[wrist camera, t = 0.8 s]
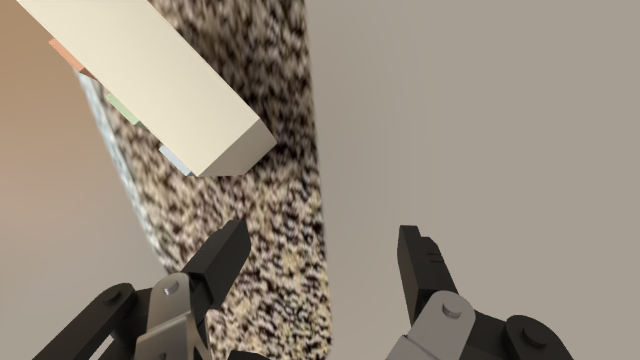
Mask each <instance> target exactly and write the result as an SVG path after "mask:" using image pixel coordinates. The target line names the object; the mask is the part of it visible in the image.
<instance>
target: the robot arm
mask: <svg viewBox="0 0 640 360" xmlns="http://www.w3.org/2000/svg"><path fill="white" fill-rule="evenodd" d="M250 251H251V240H250V237H249V233H248V229H247V225H246V222H245V221H244V220H229V221H228V222H227V223H226V224H225V226H224V227H223V228H222V229H219V230H217V231H216V232H215V233H213V234H212V235H210V237H209V238H208V239H207V240H206V242H205V244H203V245H202V246H201V248H200V250H198V251H197V252H196V254H195V255H194V256H193V257H192V258H191V260H190V261H189V262H188V263H187V264H186V266H185V267H184V268H183V269H182V270H181V272H180V273H174V274H171V275H168V276H166V277H165V278H163V279H162V280H160V281H159V282H158V283H157V284H156V285H155V286H154V287H153V288H148V289H143V290H138V291H135V289H134V288H133V287H132V285H131V284H129V283H121V284H118V285H115V286H112V287H110V288H108V289H107V290H105V291H103V292H102V293H101V294H99V296H97V297H96V298H95V299H94V300H93V301H92V302H91V303H90V304H89V305H88V306H87V307H86V308H85V309H84V310H83V311H82V312H81V313H80V314H79V315H78V316H77V317H76V318H75V319H73V320H72V321H71V322H70V323H69V324H68V325H67V326H66V327H65V328H64V329H63V330H62V331H61V332H60V333H59V334H58V335H57V336H56V337H55V338H54V339H53V340H52V341H51V342H50V343H49V344H48V345H47V346H46V347H45V348H44V349H43V350H42V351H41V352H39V353H38V354H37V355H36V356H35V357H34V358H33V359H32V360H89V358H90V357H91V356H92V355H93V353H94V352H95V351H96V350H97V349H98V348H99V346H100V345H101V344H102V343H103V342H104V340H105V339H106V338H107V337H108V336H109V335H111V336H112V338H113V339H114V340H113V342H112V343H111V344H110V345H109V347H108V348H107V349H106V350H105V352H104V353H103V354H102V355H101V357H100V358H99V359H98V360H213V359H212V355H211V347H210V339H209V332H208V324H207V317H206V313H207V311H208V310H209V309H215V310H219V308H220V306H221V305H222V303H223V301H224V299H225V297H226V296H227V294H228V292H229V290H230V288H231V287H232V285H233V283H234V281H235V279H236V277H237V276H238V274H239V272H240V270H241V268H242V267H243V265H244V263H245V261H246V259H247V257H248V256H249V254H250ZM397 257H398V265H399V269H400V274H401V279H402V284H403V289H404V294H405V299H406V304H407V308H408V313H409V318H410V323H411V329H410V331H409V332H408V334H407V335H406V336H405V335H402V336H401V337H400V338H399V340H398V341H397V342H396V344H395V346H394V347H393V349H392V350H391V352H390V353H389V355H388V356H387V358H386V359H385V360H574V359H573V358H572V356H571V355H570V353H569V352H568V350H567V349H566V347H565V346H564V344H563V343H562V341H561V340H560V339H559V337H558V336H557V335H556V334H555V333H554V332H553V331H552V330H551V329H550V328H548V327H547V326H546V325H544V324H543V323H541V322H539V321H537V320H535V319H533V318H530V317H527V316H523V315H514V316H511V317H509V318H508V319H507V321H506V322H505V321H502V320H499V319H496V318H493V317H490V316H488V315H484V314H482V313H480V312H478V311H476V310H474V309H473V308H472V306H471V305H470V303H469V302H467V300H466V299H464V298H463V297H461V296H460V295H459V293H458V291H457V289H456V287H455V285H454V282H453V280H452V278H451V275H450V273H449V271H448V269H447V266H446V264H445V263H444V259H443V257H442V256H441V253H440V250H439V248H438V246H437V244H436V243H435V242H434V241H433V240H432V239H431V238H430V237H421V235H420V232H419V230H418V227H417V226H409V225H400V229H399V239H398V248H397ZM227 360H270V359H268V358H266V357H264V356H262V355H260V354H258V353H251V352H243V351H235V350H231V352H230V355H229V357H228V359H227Z"/></svg>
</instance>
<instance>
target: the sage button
mask: <svg viewBox="0 0 640 360" xmlns="http://www.w3.org/2000/svg"><path fill="white" fill-rule="evenodd" d="M105 98H106V99H107V100H108V101H109V102H110V103H111V104H112V105H113V106H114V107H115V108H116V109H117V110H118V111H119V112H120V113H121V114H122V115H124V116H125V117H126V118H127V119H128V120H129V121H130V122H131V123H132V124H133V125H134V126H137V127H141V128H144V129H148V128H147V127H146V126H145V125H144V124H143V123H142V122H141V121H139V120H138V119H137V118H136V117H135V116H134V115H133V114H132V113H131V112H130V111H129V110H128V109H127V108H126V107H125V106H124V105H123V104H122V103H121V102H120V101H119V100H118V99H117V98H116V97H115V96H114V95H113V94H112V93H111V92H110V93H109V94H108V95H107V96H106V97H105ZM148 130H149V129H148Z"/></svg>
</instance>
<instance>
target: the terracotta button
mask: <svg viewBox="0 0 640 360" xmlns="http://www.w3.org/2000/svg"><path fill="white" fill-rule="evenodd" d="M49 44H50V45H52V46H53V48H55V49H56V50H57V51H58V52H59V53H60V54H61V55H62V56H63V57H64V58H65V59H66V60H67V61H68V62H69V63H70V64H71V65H72V66H73V67H74V68H75V69H76V70H77V71H78V72H80V73H82V74H84V75H86V76H89V77H91V78H93V79H95V80H97V81H99V80H98V79H96V78H95V77H94V76H93V75H92V74H91V73H90V72H89V71H88V70H87V69H86V68H85V67H84V66H83V65H82V64H81V63H80V62H79V61H78V60H77V59H76V58H75V57H74V56H73V55H72V54H71V53H70V52H69V51H68V50H67V49H66V48H65V47H64V46H63V45H62V44H61V43H60V42H59V41H58V40H57V39H56V38H53V39H52V40H50V41H49Z"/></svg>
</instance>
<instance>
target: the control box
mask: <svg viewBox="0 0 640 360" xmlns="http://www.w3.org/2000/svg"><path fill="white" fill-rule="evenodd" d="M17 1H18V2H19V3H20V4H21V5H22V6H23V7H24V8H25V9H26V10H27V11H28V12H29V13H30V14H31V15H32V16H33V17H34V18H35V19H36V20H37V21H38V22H39V23H40V24H41V25H42V26H43V27H44V28H45V29H46V30H47V31H48V32H50V34H52V36H53V37H54V38H56V39H57V40H58V41H59V42H60V43H61V44H62V45H63V46H64V47H65V48H66V49H67V50H68V51H69V52H70V53H71V54H72V55H73V56H74V57H75V58H76V59H77V60H78V61H79V62H80V63H81V64H82V65H83V66H84V67H85V68H86V69H87V70H88V71H89V72H90V73H91V74H92V75H93V76H94V77H95V78H96V79H98V80H99V81H100V82H101V83H102V84H103V85H104V86H105V87H106V88H107V89H108V90H109V91H110V92H111V93H112V94H113V95H114V96H115V97H116V98H117V99H118V100H119V101H120V102H121V103H122V104H123V105H124V106H125V107H126V108H127V109H128V110H129V111H130V112H131V113H132V114H133V115H134V116H135V117H136V118H137V119H138V120H139V121H141V122H142V123H143V124H144V125H145V126H146V127H147V128H148V129H149V130H150V131H151V132H152V133H153V134H154V135H155V136H156V137H157V138H158V139H159V140H160V141H161V142H162V143H163V144H164V145H165V146H166V147H167V148H168V149H169V150H170V151H171V152H172V153H173V154H174V155H175V156H176V157H177V158H178V159H179V160H180V161H181V162H183V163H184V164H185V165H186V166H187V167H188V168H189V169H190V170H191V171H192V172H193V173H194V174H195V175H196V176H197V177H207V176H228V175H244V174H245V173H246V172H247V171H248V170H250V169H251V168H252V167H253V166H254V165H255V164H256V163H257V162H258V161H259V160H260V159H261V158H262V157H263V156H264V155H265V154H266V153H267V152H268V151H270V150H271V149H272V148H273V147H274V146H275V145H276V144H277V143H278V142H277V141H276V140H275V138H274V137H273V135H272V134H271V133H270V131H269V130H268V128H267V127H266V126H265V124H264V123H263V121H262V120H261V119H260V117H259V116H258V115H257V114H256V113H255V112H254V111H253V110H252V109H251V108H250V107H249V106H248V105H247V104H246V103H245V102H244V101H243V100H242V99H241V98H240V97H239V96H238V95H237V94H236V93H235V91H234V90H233V89H232V88H231V87H230V86H229V85H228V84H227V83H226V82H225V81H224V80H223V79H222V78H221V77H220V76H219V75H218V74H217V73H216V72H215V71H214V70H213V69H212V68H211V67H210V66H209V64H208V63H207V62H206V61H205V60H204V59H203V58H202V57H201V56H200V55H199V54H198V53H197V52H196V51H195V50H194V49H193V48H192V47H191V46H190V45H189V44H188V43H187V42H186V41H185V40H184V39H183V37H182V36H181V35H180V34H179V33H178V32H177V31H176V30H175V29H174V28H173V27H172V26H171V25H170V24H169V23H168V22H167V21H166V20H165V19H164V18H163V17H162V16H161V15H160V14H159V13H158V12H157V10H156V9H155V8H154V7H153V6H152V5H151V4H150V3H149V2H148V1H147V0H17Z"/></svg>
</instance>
